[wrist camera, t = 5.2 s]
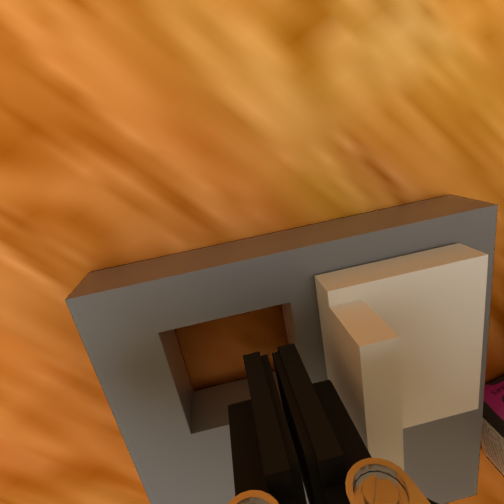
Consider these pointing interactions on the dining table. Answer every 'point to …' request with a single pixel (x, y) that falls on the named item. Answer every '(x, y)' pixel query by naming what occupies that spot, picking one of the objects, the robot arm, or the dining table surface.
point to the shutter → (404, 340)
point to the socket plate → (298, 332)
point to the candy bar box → (494, 423)
